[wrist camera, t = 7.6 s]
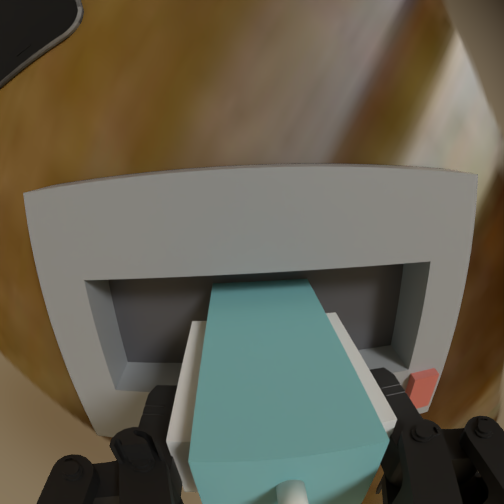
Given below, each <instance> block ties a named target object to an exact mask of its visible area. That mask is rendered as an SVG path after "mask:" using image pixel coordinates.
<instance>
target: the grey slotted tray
mask: <svg viewBox="0 0 504 504" xmlns="http://www.w3.org/2000/svg"><path fill="white" fill-rule="evenodd" d="M477 183H478V174H472V173H467V172H461V171H455V170H449V169H441V168H428V167H413V166H396V165H372V164H260V165H236V166H218V167H203V168H189V169H177V170H166V171H155V172H145V173H136V174H127V175H119V176H111V177H103V178H96V179H89V180H82V181H76V182H69V183H63V184H57V185H52V186H48V187H44V188H40V189H37V190H33V191H29V192H26V193H23V194H24V202H25V209H26V216H27V223H28V229H29V234H30V240H31V245H32V250H33V255H34V260H35V264H36V269H37V273H38V277H39V281H40V285H41V289H42V293H43V297H44V300H45V304H46V307H47V311H48V314H49V317H50V321H51V324H52V327H53V330H54V333H55V336H56V339H57V342H58V345H59V348H60V351H61V353H62V356H63V359H64V361H65V364H66V367H67V369H68V372H69V374H70V377H71V379H72V382H73V384H74V386H75V389H76V391H77V393H78V396H79V398H80V400H81V403H82V405H83V407H84V409H85V411H86V413H87V415H88V418H89V420H90V422H91V424H92V426H93V428H94V430H95V432H96V434H97V435H99V436H107V437H114V436H115V435H116V433H118V432H120V431H121V430H123V429H126V428H131V427H138V426H139V423H140V419H141V416H142V415H143V410H144V407H145V403H146V400H147V397H148V394H149V393H150V392H151V391H152V390H153V389H154V387H155V386H156V385H178V381H179V377H180V372H181V368H182V363H183V359H184V354H185V350H186V346H187V341H188V337H189V333H190V329H191V324H192V321H207V317H208V310H209V304H210V297H211V291H212V285H213V283H235V282H256V281H275V280H293V279H308V281H309V283H310V285H311V287H312V289H313V290H314V292H315V294H316V296H317V298H318V300H319V302H320V303H321V305H322V307H323V309H324V311H325V313H334V312H336V314H337V316H338V317H339V319H340V321H341V322H342V324H343V326H344V327H345V329H346V331H347V332H348V334H349V336H350V337H351V339H352V341H353V343H354V344H355V346H356V348H357V349H358V351H359V353H360V354H361V356H362V358H363V360H364V361H365V363H366V365H367V367H368V368H369V370H371V369H377V368H382V367H384V368H386V369H387V370H389V371H390V372H392V373H393V374H394V375H395V376H396V378H397V379H398V381H399V382H400V385H401V386H402V387H403V389H404V390H405V393H407V395H408V396H409V398H410V399H411V401H412V403H413V404H414V406H415V407H416V409H417V410H418V412H419V414H420V413H424V412H427V411H428V409H429V406H430V404H431V401H432V398H433V396H434V393H435V390H436V388H437V385H438V382H439V379H440V376H441V373H442V370H443V367H444V364H445V361H446V358H447V355H448V351H449V348H450V344H451V341H452V337H453V334H454V330H455V326H456V322H457V318H458V314H459V310H460V306H461V301H462V297H463V292H464V287H465V282H466V277H467V271H468V265H469V259H470V253H471V246H472V239H473V231H474V222H475V212H476V199H477Z"/></svg>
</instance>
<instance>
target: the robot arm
mask: <svg viewBox="0 0 504 504" xmlns="http://www.w3.org/2000/svg"><path fill="white" fill-rule="evenodd" d="M326 315H327V317H328V319H329V320H330V322H331V324H332V326H333V328H334V330H335V332H336V334H337V336H338V338H339V340H340V341H341V343H342V345H343V347H344V349H345V351H346V353H347V355H348V357H349V359H350V361H351V363H352V365H353V367H354V369H355V371H356V373H357V375H358V377H359V379H360V381H361V383H362V385H363V387H364V389H365V391H366V393H367V395H368V397H369V399H370V401H371V403H372V405H373V407H374V409H375V411H376V413H377V415H378V417H379V419H380V421H381V423H382V425H383V427H384V429H385V431H386V433H387V435H388V438H389V440H390V441H389V444H388V446H387V449H386V451H385V454H384V456H383V458H382V461H381V466H382V468H383V471H384V475H383V477H382V479H381V481H380V483H379V485H378V487H377V491H376V494H379V493H380V491H381V489H382V495H383V504H504V431H503V429H502V428H501V427H500V426H499V424H498V423H497V422H495V421H494V420H493V419H491V418H489V417H487V416H477V417H473V418H472V419H470V420H469V421H468V422H467V424H466V426H465V428H460V429H441V428H440V427H439V426H438V425H437V424H436V423H434V422H432V421H429V420H426V419H423V418H422V417H421V415H420V414H419V412H418V410H417V409H416V407H415V406H414V404H413V403H412V401H411V399H410V398H409V396H408V395H407V393H405V390H404V389H403V387H402V386H401V385H400V382H399V381H398V379H397V378H396V376H395V375H394V374H393V373H392V372H390V371H389V370H387V369H386V368H384V367H382V368H377V369H371V370H369V368H368V367H367V365H366V363H365V361H364V360H363V358H362V356H361V354H360V353H359V351H358V349H357V348H356V346H355V344H354V343H353V341H352V339H351V337H350V336H349V334H348V332H347V331H346V329H345V327H344V326H343V324H342V322H341V321H340V319H339V317H338V316H337V314H336V312H334V313H326ZM206 323H207V321H192V324H191V329H190V333H189V337H188V341H187V346H186V350H185V354H184V359H183V363H182V368H181V372H180V377H179V381H178V385H156V386H155V387H154V389H153V390H152V391H151V392H150V393H149V394H148V397H147V400H146V403H145V407H144V410H143V415H142V416H141V419H140V423H139V426H138V427H131V428H126V429H123V430H121V431H120V432H118V433H116V435H115V436H114V437H113V438H112V439H111V442H110V448H111V450H112V452H113V454H114V455H115V457H116V459H117V460H116V461H112V462H107V463H98V464H92V463H91V462H90V461H89V460H88V459H87V458H86V457H83V456H81V455H68V456H64V457H62V458H61V459H59V460H58V461H57V462H56V464H55V465H54V466H53V468H52V470H51V473H50V475H49V477H48V479H47V482H46V484H45V486H44V488H43V490H42V493H41V495H40V497H39V500H38V502H37V504H184V503H183V501H182V499H181V490H182V486H183V488H184V490H185V492H198V490H197V487H196V484H195V481H194V478H193V475H192V472H191V469H190V466H189V462H188V459H189V450H190V442H191V433H192V425H193V417H194V409H195V402H196V394H197V386H198V379H199V372H200V365H201V358H202V351H203V344H204V337H205V330H206ZM379 466H380V465H379ZM378 468H379V467H378ZM478 472H479V473H478ZM376 473H377V472H376Z"/></svg>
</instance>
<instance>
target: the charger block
mask: <svg viewBox="0 0 504 504" xmlns="http://www.w3.org/2000/svg"><path fill="white" fill-rule="evenodd" d="M389 441H390V440H389V438H388V435H387V433H386V431H385V429H384V427H383V425H382V423H381V421H380V419H379V417H378V415H377V413H376V411H375V409H374V407H373V405H372V403H371V401H370V399H369V397H368V395H367V393H366V391H365V389H364V387H363V385H362V383H361V381H360V379H359V377H358V375H357V373H356V371H355V369H354V367H353V365H352V363H351V361H350V359H349V357H348V355H347V353H346V351H345V349H344V347H343V345H342V343H341V341H340V340H339V338H338V336H337V334H336V332H335V330H334V328H333V326H332V324H331V322H330V320H329V319H328V317H327V315H326V313H325V311H324V309H323V307H322V305H321V303H320V302H319V300H318V298H317V296H316V294H315V292H314V290H313V289H312V287H311V285H310V283H309V281H308V279H293V280H275V281H256V282H235V283H213V285H212V291H211V297H210V304H209V310H208V317H207V323H206V330H205V337H204V344H203V351H202V358H201V365H200V372H199V379H198V386H197V394H196V402H195V409H194V417H193V425H192V433H191V442H190V450H189V459H188V462H189V466H190V469H191V472H192V475H193V478H194V481H195V484H196V487H197V490H198V493H199V496H200V498H201V501H202V504H361V503H362V501H363V499H364V497H365V495H366V493H367V491H368V489H369V487H370V485H371V483H372V481H373V478H374V476H375V474H376V472H377V470H378V467H379V465H380V463H381V461H382V458H383V456H384V454H385V451H386V449H387V446H388V444H389Z"/></svg>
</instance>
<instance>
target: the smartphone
mask: <svg viewBox="0 0 504 504" xmlns="http://www.w3.org/2000/svg"><path fill="white" fill-rule="evenodd" d="M83 13H84V11H83V6H82V3H81V0H0V88H1V87H2V86H4V85H5V84H6V83H7V82H8V81H9V80H11V79H12V78H13V77H14V76H15V75H17V74H18V73H19V72H20V71H22V70H23V69H24V68H25V67H27V66H28V65H29V64H31V63H32V62H33V61H35V60H36V59H37V58H39V57H40V56H41V55H43V54H44V53H46V52H47V51H48V50H50V49H51V48H53V47H54V46H56V45H57V44H59V43H60V42H62V41H63V40H65V39H66V38H68V37H69V36H70V35H71V34H73V33H74V32H75V30H76V29H77V28H78V26H79V25H80V23H81V21H82V18H83Z"/></svg>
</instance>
